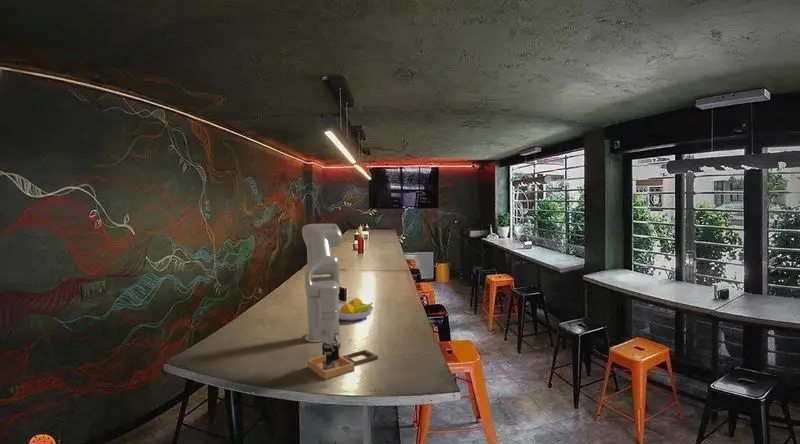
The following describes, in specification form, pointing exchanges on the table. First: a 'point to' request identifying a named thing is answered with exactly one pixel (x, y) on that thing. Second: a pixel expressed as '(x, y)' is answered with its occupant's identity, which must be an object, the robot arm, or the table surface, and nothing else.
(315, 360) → the parts tray
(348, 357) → the component holder
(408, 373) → the table surface
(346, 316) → the fruit bowl
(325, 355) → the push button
